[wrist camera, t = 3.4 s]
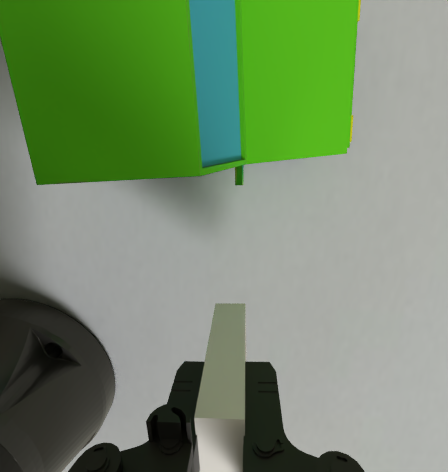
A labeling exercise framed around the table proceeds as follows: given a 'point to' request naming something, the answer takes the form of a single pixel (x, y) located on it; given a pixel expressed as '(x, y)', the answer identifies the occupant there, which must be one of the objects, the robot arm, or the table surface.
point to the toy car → (178, 84)
